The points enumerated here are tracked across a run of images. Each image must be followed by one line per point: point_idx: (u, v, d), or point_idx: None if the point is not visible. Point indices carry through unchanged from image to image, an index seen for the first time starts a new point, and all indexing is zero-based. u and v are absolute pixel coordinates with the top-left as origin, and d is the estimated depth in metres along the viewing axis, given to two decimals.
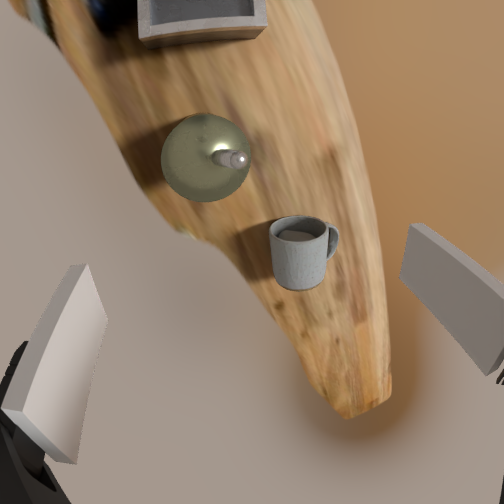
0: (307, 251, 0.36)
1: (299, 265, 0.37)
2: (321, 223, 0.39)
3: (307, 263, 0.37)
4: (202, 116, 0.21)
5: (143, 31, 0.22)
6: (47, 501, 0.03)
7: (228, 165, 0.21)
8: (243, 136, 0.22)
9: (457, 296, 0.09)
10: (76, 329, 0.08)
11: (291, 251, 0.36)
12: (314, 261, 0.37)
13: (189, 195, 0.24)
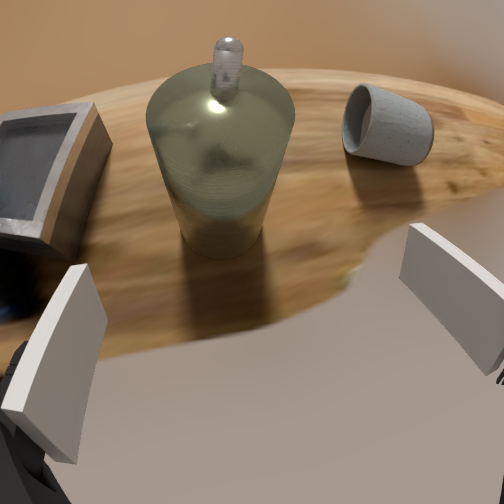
0: (383, 97, 0.23)
1: (401, 112, 0.23)
2: (351, 100, 0.28)
3: (398, 103, 0.23)
4: (151, 101, 0.13)
5: (34, 230, 0.18)
6: (47, 501, 0.03)
7: (234, 59, 0.12)
8: (202, 65, 0.14)
9: (457, 296, 0.09)
10: (76, 329, 0.08)
11: (384, 114, 0.23)
12: (396, 97, 0.24)
13: (276, 138, 0.13)
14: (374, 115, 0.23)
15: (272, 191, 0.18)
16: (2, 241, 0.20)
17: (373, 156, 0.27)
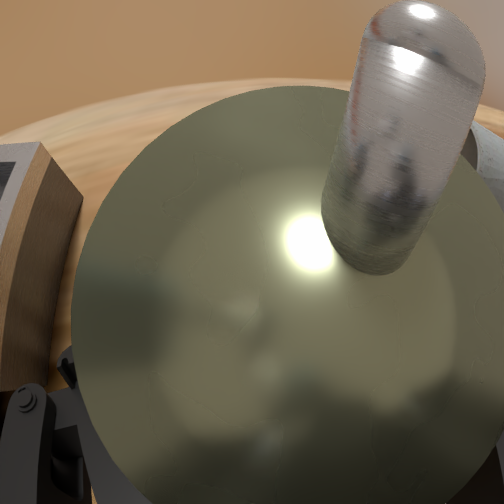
0: (488, 140, 0.14)
1: None
2: None
3: (502, 149, 0.14)
4: (85, 266, 0.03)
5: None
6: None
7: (467, 120, 0.02)
8: (269, 93, 0.04)
9: None
10: None
11: (491, 167, 0.14)
12: (496, 138, 0.14)
13: (501, 413, 0.03)
14: (481, 168, 0.14)
15: None
16: None
17: None
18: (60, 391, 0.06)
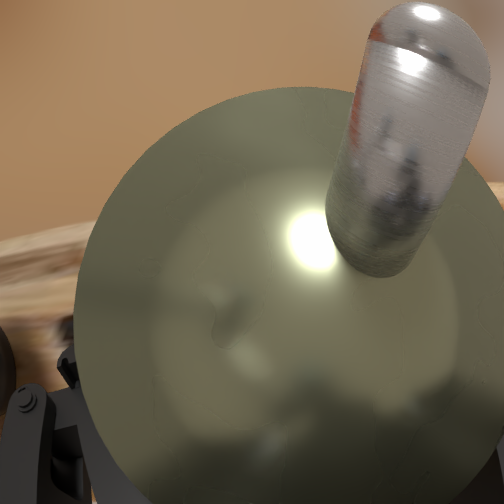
0: None
1: None
2: None
3: None
4: (87, 269, 0.03)
5: None
6: None
7: (472, 123, 0.02)
8: (272, 94, 0.04)
9: None
10: None
11: None
12: None
13: (503, 414, 0.03)
14: None
15: None
16: None
17: None
18: (60, 391, 0.06)
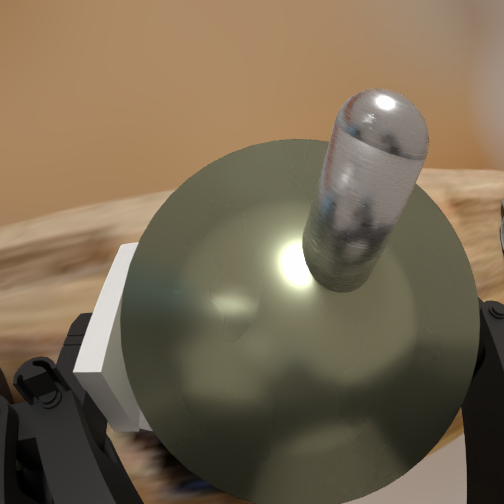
0: None
1: None
2: None
3: None
4: (130, 287, 0.05)
5: None
6: (113, 476, 0.04)
7: (408, 186, 0.04)
8: (264, 147, 0.06)
9: None
10: None
11: None
12: None
13: (452, 401, 0.04)
14: None
15: None
16: None
17: None
18: (23, 403, 0.05)
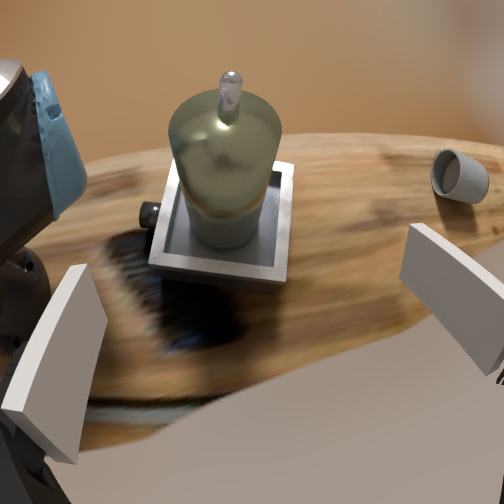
0: (465, 163, 0.34)
1: (474, 172, 0.34)
2: (439, 156, 0.39)
3: (472, 166, 0.34)
4: (172, 120, 0.17)
5: (278, 275, 0.28)
6: (47, 501, 0.03)
7: (235, 89, 0.16)
8: (210, 91, 0.18)
9: (457, 296, 0.09)
10: (76, 329, 0.08)
11: (466, 175, 0.34)
12: (470, 161, 0.35)
13: (266, 151, 0.17)
14: (461, 175, 0.34)
15: (266, 190, 0.23)
16: (209, 279, 0.30)
17: (454, 198, 0.38)
18: None
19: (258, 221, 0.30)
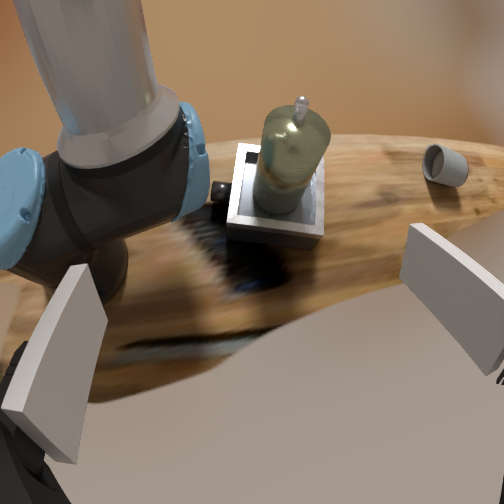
0: (448, 154, 0.46)
1: (455, 161, 0.46)
2: (428, 150, 0.51)
3: (454, 157, 0.46)
4: (265, 123, 0.29)
5: (318, 231, 0.40)
6: (47, 501, 0.03)
7: (305, 108, 0.28)
8: (285, 106, 0.30)
9: (457, 296, 0.09)
10: (76, 329, 0.08)
11: (449, 163, 0.46)
12: (453, 153, 0.47)
13: (323, 145, 0.29)
14: (445, 164, 0.46)
15: (314, 171, 0.35)
16: (267, 236, 0.42)
17: (440, 182, 0.50)
18: None
19: None
